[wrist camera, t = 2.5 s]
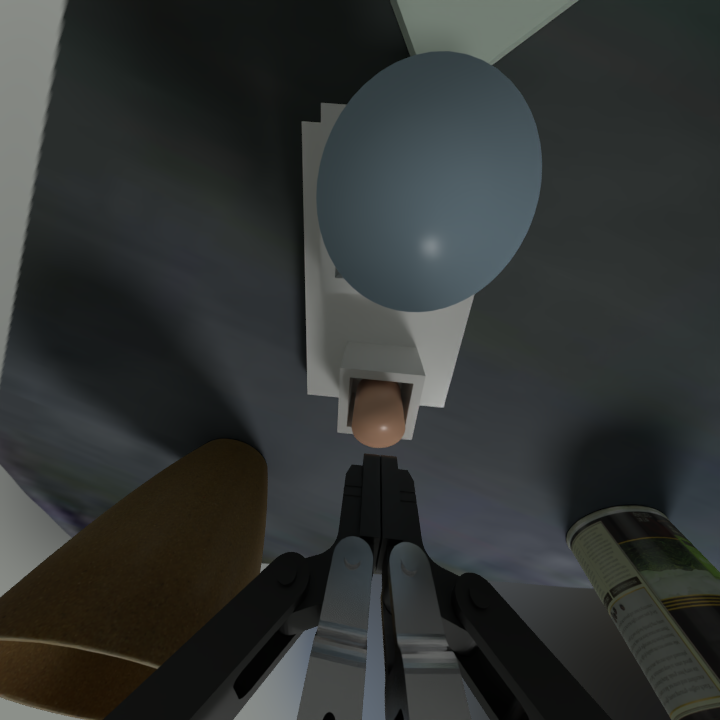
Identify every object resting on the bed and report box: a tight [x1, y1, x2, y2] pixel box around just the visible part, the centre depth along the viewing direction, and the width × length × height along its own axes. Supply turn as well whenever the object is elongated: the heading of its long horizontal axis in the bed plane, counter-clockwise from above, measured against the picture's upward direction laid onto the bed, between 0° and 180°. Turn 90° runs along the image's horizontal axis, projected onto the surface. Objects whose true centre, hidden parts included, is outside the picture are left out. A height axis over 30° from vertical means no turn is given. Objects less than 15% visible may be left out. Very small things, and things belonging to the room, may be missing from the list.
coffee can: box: [566, 505, 720, 720], centre depth 24 cm, size 10×10×14 cm
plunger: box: [352, 379, 405, 448], centre depth 16 cm, size 3×3×4 cm
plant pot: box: [0, 439, 268, 720], centre depth 21 cm, size 15×15×16 cm
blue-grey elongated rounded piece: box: [316, 51, 542, 312], centre depth 11 cm, size 5×5×10 cm
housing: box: [302, 103, 474, 440], centre depth 16 cm, size 11×17×6 cm, turn 176°
